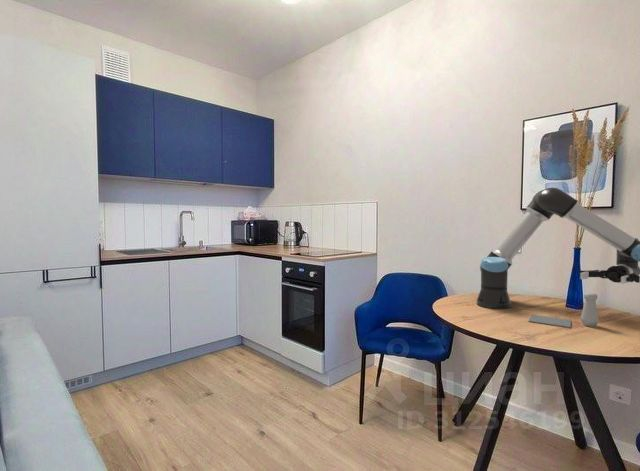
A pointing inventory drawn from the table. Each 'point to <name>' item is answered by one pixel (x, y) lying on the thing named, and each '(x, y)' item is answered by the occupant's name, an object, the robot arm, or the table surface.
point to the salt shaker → (590, 310)
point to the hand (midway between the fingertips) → (600, 278)
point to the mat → (550, 321)
